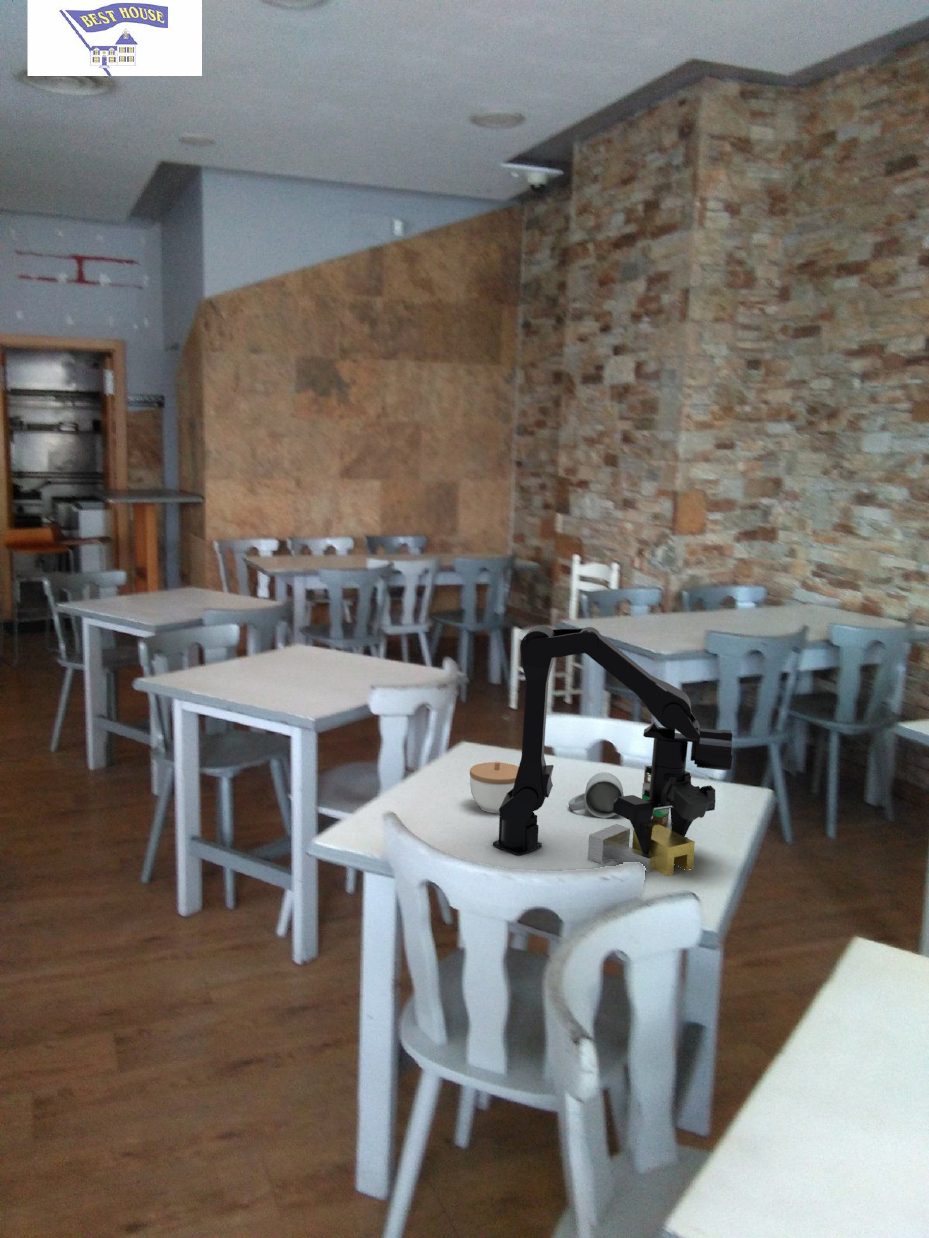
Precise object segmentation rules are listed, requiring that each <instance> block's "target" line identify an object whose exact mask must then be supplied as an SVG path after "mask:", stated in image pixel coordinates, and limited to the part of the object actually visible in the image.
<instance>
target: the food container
mask: <svg viewBox="0 0 929 1238" xmlns="http://www.w3.org/2000/svg"><path fill="white" fill-rule="evenodd" d="M647 766H648V765H647V764H646V765H644V773H643V774H644V776H643V782H642V789H641V792H642V793H641V799H644V800H649V797H647V796H645V795H644V790H645V789H650V778H651V774H649V773H647V772H646V767H647ZM669 817H670V808H668V809H662V810H655V811H654V812H653V819H655V820H657V821H658V823H657V824H655V825H661V826H663V827H665V828H668V824H669V823H668V822H669ZM655 825H654V826H655Z"/></svg>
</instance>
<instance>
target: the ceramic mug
mask: <svg viewBox="0 0 929 1238" xmlns="http://www.w3.org/2000/svg"><path fill="white" fill-rule="evenodd" d="M622 796H625V795H624V788H623V786H622V782H621V781H620V779H619V778H618V777H617V776H616V775H614V774H613V773H611V772H604V771H603V772H599V773H596V774H594V775H592V776H591V777H590V778H589V780H588V782H587V783H586V786H585V790H584V792H583V793H581V794H577V795H576V796H574V797H572V798H571V799H570V800H569V801H568V804H567V805H568V807H569V809H570V811H572V812H573V811H575V812H577V811H581V810H584V809H586V810H587V811H588V812H589V814H591V815H592V816H594V817H596V818H599V819H608V818H609V819H610V818H612V817H614V816H617V814H615V813H613V806H614V800H616V799H617V798H618V797H622Z"/></svg>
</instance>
